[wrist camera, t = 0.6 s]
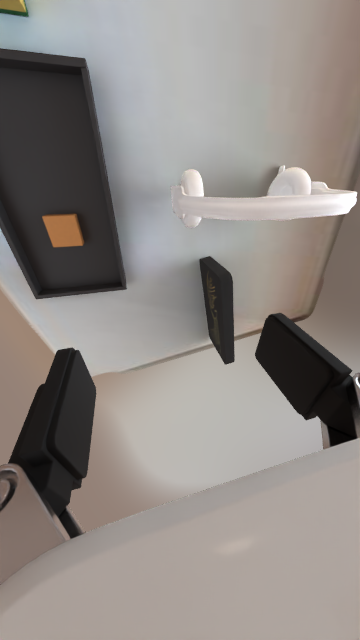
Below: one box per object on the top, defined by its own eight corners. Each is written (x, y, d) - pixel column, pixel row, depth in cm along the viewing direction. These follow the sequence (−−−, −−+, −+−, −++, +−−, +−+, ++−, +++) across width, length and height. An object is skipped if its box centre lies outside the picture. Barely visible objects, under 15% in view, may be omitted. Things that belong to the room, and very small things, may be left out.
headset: (166, 222, 32) (203, 255, 17) (163, 167, 27) (208, 152, 13) (273, 215, 35) (375, 237, 21) (285, 166, 31) (420, 152, 17)
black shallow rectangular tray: (-72, 52, 18) (-96, 36, 16) (88, 70, 21) (85, 58, 19) (41, 292, 33) (35, 299, 31) (126, 283, 36) (126, 289, 34)
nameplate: (216, 334, 49) (234, 363, 41) (209, 337, 49) (226, 366, 41) (208, 254, 36) (232, 274, 29) (198, 257, 36) (220, 278, 28)
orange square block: (45, 214, 27) (41, 216, 25) (76, 213, 27) (74, 215, 26) (56, 244, 29) (53, 247, 28) (84, 243, 30) (82, 245, 29)
